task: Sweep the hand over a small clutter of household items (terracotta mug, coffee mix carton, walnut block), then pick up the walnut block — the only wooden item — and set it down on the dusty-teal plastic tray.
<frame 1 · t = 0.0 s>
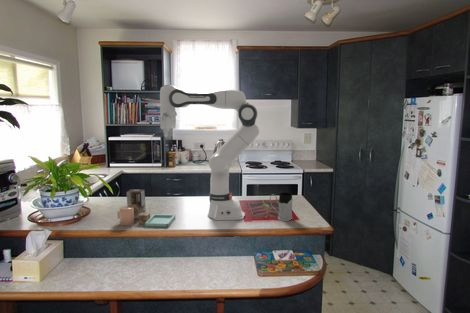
hand: (168, 136, 195), 48 cm above the table, fingers open, 8 cm apart
tray: (160, 222, 187), on the table
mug: (127, 223, 185), on the table
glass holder: (280, 218, 196), on the table
coffee box: (136, 217, 196), on the table
walnut block: (144, 222, 187), on the table
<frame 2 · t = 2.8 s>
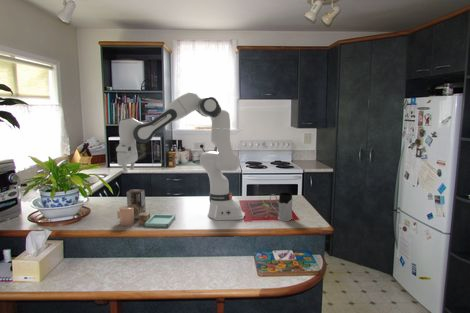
hand: (128, 171, 185), 29 cm above the table, fingers open, 8 cm apart
nothing on the table moved.
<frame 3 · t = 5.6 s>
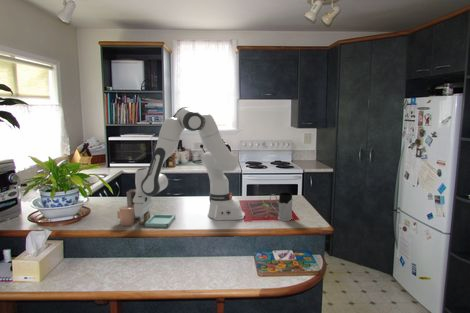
hand: (144, 219, 187), 2 cm above the table, fingers closed on walnut block, 5 cm apart
walnut block: (144, 222, 187), on the table, touching gripper
everything else where it was.
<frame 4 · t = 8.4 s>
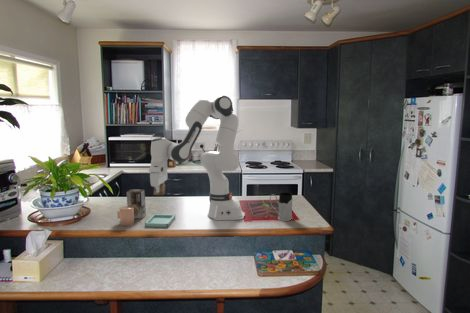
hand: (159, 190, 185), 18 cm above the table, fingers closed on walnut block, 5 cm apart
walnut block: (159, 193, 185), point 17 cm above the table, touching gripper
everything else where it was.
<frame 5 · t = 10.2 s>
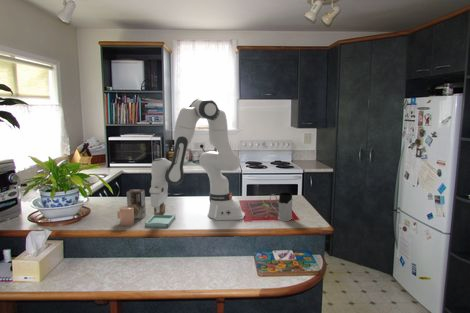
hand: (160, 210, 186), 7 cm above the table, fingers closed on walnut block, 5 cm apart
walnut block: (159, 213, 186), point 5 cm above the table, touching gripper
everything else where it was.
when the fingers open (4 cm above the table, at t = 11.4 s): walnut block drops 1 cm, resting on tray.
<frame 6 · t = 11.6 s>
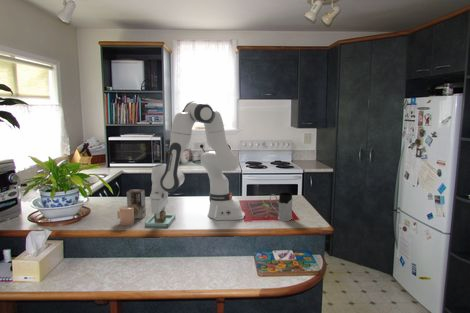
hand: (160, 215, 187), 4 cm above the table, fingers open, 7 cm apart
walnut block: (160, 221, 187), point 1 cm above the table, touching tray
everything else where it was.
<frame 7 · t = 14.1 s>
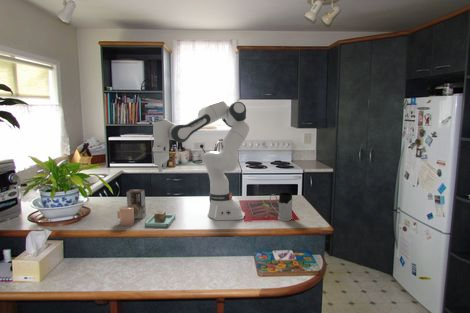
hand: (162, 170, 193), 28 cm above the table, fingers open, 8 cm apart
nothing on the table moved.
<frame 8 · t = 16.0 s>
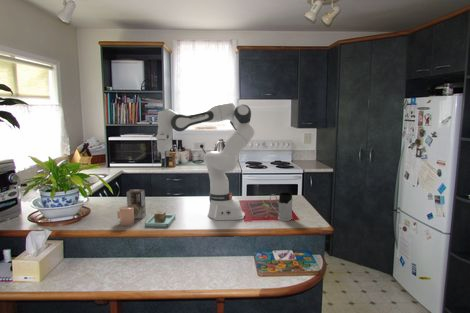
hand: (165, 157, 205), 34 cm above the table, fingers open, 8 cm apart
nothing on the table moved.
at the end: walnut block inside the target area on the tray (0.3 cm from its centre), point 0.6 cm above the tray's base; the gripper is holding nothing; coffee box moved 0.2 cm from its start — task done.
